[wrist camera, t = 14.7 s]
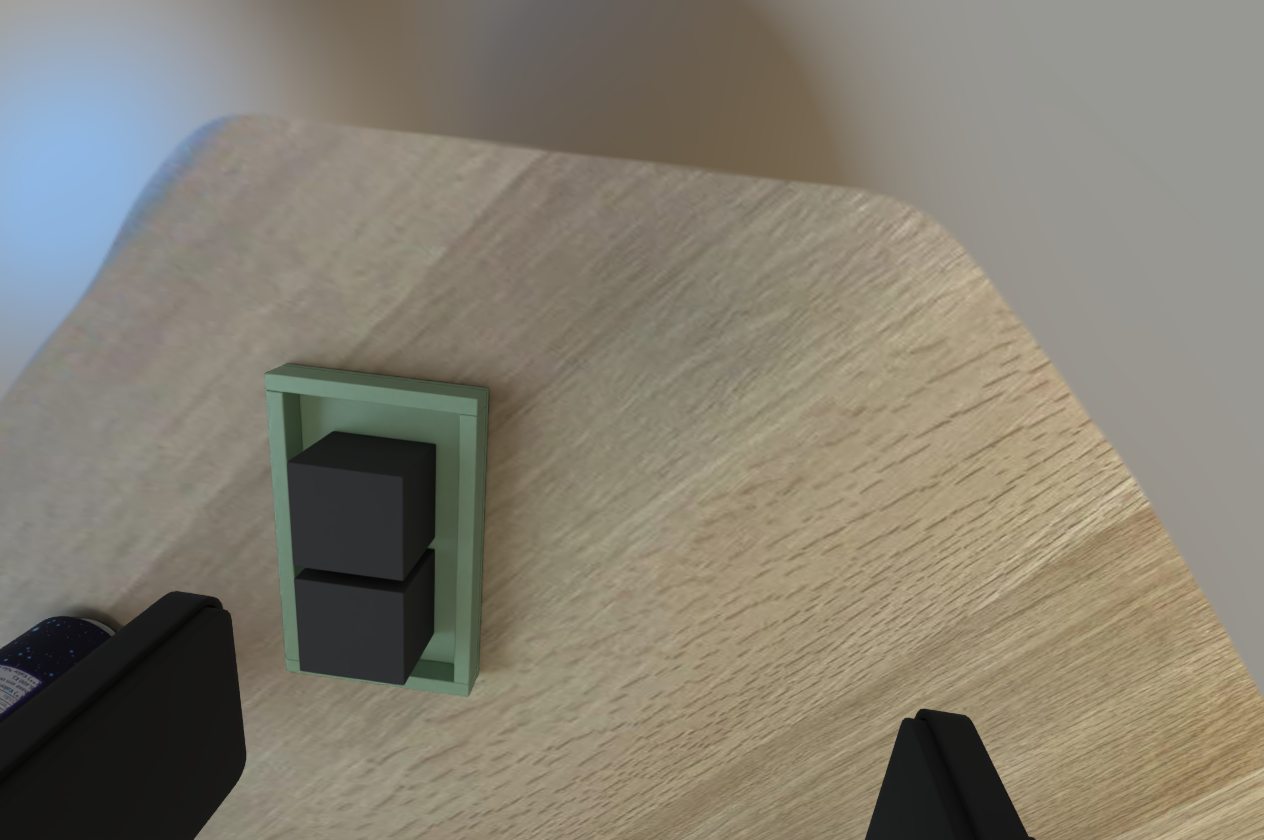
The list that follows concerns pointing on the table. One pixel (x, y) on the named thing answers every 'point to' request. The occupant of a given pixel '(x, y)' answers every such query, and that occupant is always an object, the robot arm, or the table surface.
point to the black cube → (362, 504)
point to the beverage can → (45, 657)
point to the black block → (365, 622)
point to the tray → (458, 427)
